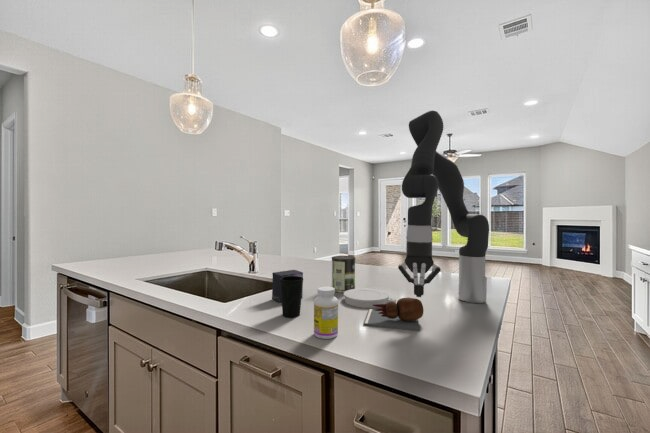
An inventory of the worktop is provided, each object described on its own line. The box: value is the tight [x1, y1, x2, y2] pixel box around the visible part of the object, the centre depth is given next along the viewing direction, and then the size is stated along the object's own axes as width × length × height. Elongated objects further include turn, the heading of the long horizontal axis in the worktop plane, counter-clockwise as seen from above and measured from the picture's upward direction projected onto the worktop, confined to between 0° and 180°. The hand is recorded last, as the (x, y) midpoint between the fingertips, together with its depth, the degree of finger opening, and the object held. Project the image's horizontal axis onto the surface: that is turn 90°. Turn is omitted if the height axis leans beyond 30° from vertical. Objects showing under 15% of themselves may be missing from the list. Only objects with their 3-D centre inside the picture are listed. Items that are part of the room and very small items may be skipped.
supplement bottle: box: [313, 286, 339, 340], centre depth 85 cm, size 7×7×13 cm
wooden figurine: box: [372, 297, 424, 321], centre depth 95 cm, size 7×6×15 cm
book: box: [362, 308, 420, 332], centre depth 97 cm, size 16×14×1 cm
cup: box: [280, 276, 304, 319], centre depth 101 cm, size 8×8×12 cm
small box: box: [271, 269, 304, 304], centre depth 120 cm, size 11×6×10 cm, turn 131°
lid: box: [343, 287, 397, 309], centre depth 118 cm, size 17×20×3 cm
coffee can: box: [331, 255, 356, 293], centre depth 134 cm, size 10×10×14 cm
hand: (418, 296), depth 95 cm, fingers closed
